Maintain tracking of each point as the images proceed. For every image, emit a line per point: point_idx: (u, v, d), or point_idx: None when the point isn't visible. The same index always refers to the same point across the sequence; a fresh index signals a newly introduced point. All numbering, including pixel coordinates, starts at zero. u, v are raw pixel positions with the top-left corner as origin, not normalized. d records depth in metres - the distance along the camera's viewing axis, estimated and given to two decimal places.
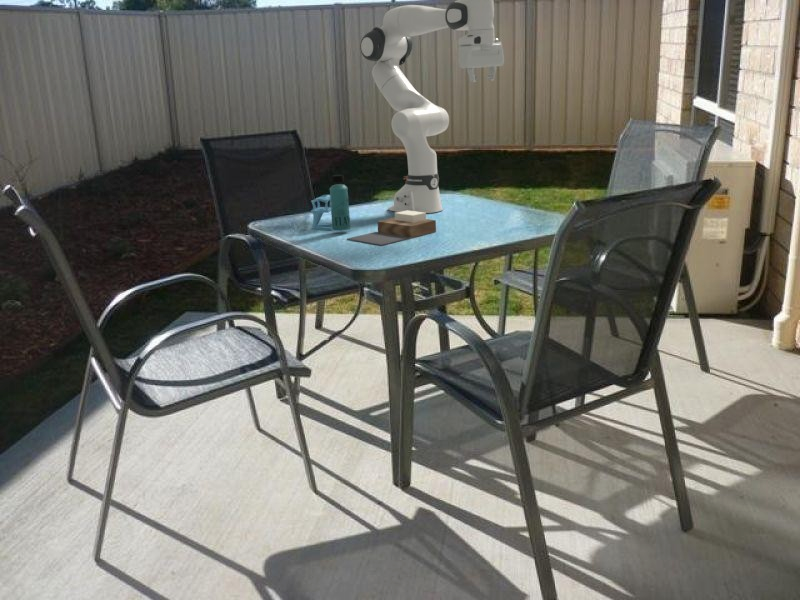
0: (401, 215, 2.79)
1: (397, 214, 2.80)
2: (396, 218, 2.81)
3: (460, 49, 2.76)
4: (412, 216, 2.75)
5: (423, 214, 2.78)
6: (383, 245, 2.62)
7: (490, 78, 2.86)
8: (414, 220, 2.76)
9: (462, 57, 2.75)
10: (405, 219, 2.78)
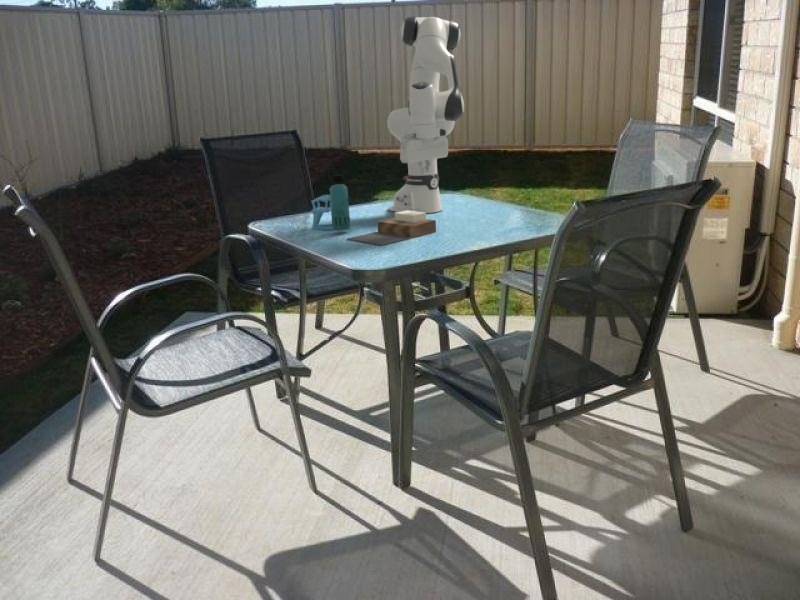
0: (401, 215, 2.79)
1: (397, 214, 2.80)
2: (396, 218, 2.81)
3: None
4: (412, 216, 2.75)
5: (423, 214, 2.78)
6: (383, 245, 2.62)
7: None
8: (414, 220, 2.76)
9: None
10: (405, 219, 2.78)
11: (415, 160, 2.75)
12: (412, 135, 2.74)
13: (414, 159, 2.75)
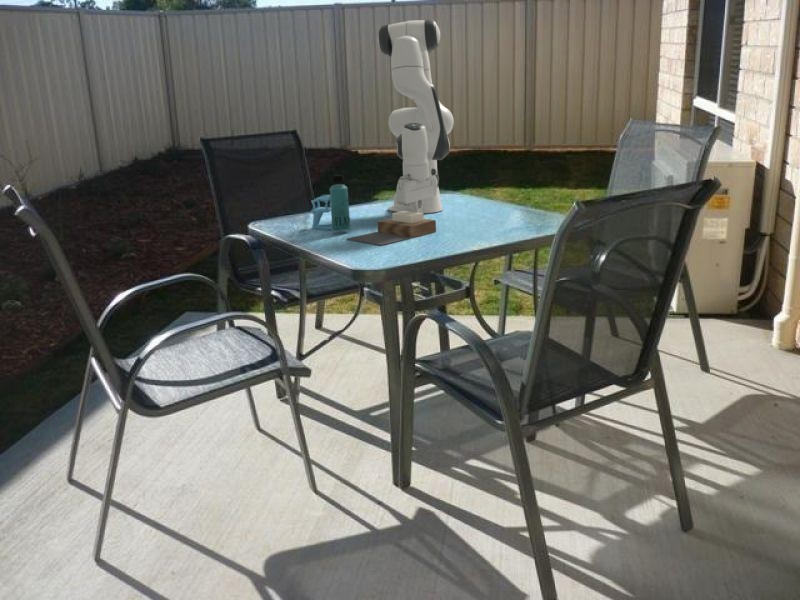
0: (399, 216, 2.78)
1: (394, 215, 2.80)
2: (393, 219, 2.80)
3: None
4: (410, 217, 2.75)
5: (421, 215, 2.78)
6: (383, 245, 2.62)
7: None
8: (412, 221, 2.75)
9: None
10: (402, 220, 2.77)
11: (411, 201, 2.75)
12: (407, 176, 2.74)
13: (410, 200, 2.75)
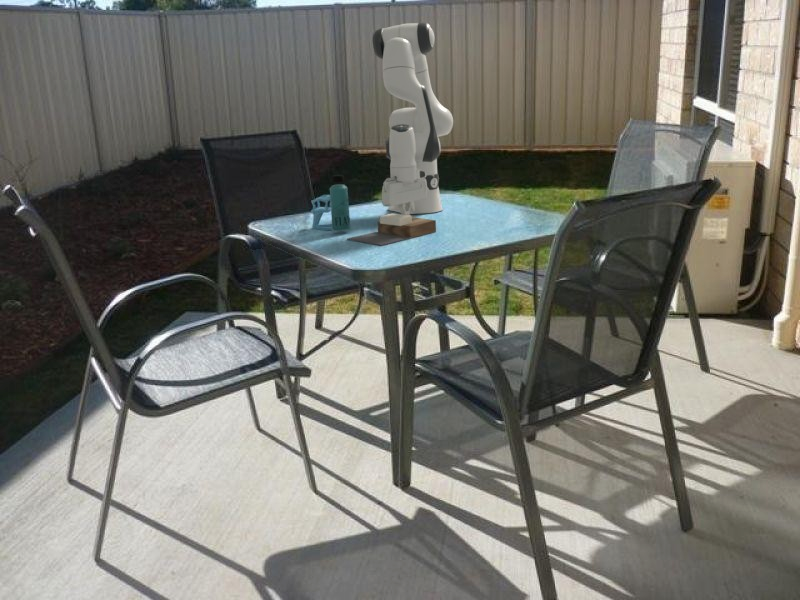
0: (387, 218, 2.74)
1: (382, 217, 2.76)
2: (381, 222, 2.76)
3: None
4: (398, 219, 2.71)
5: (409, 217, 2.74)
6: (383, 245, 2.62)
7: None
8: (400, 223, 2.71)
9: None
10: (391, 223, 2.74)
11: (397, 203, 2.72)
12: (393, 178, 2.70)
13: (396, 202, 2.71)
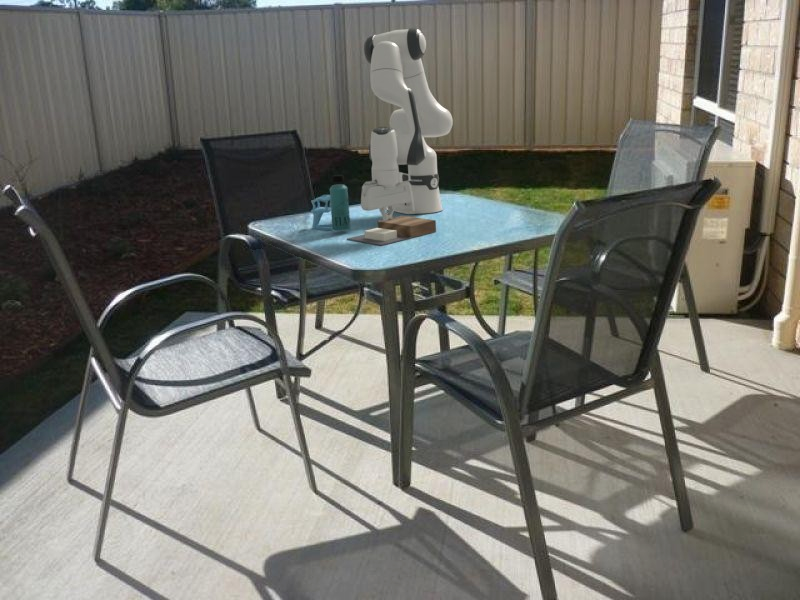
0: None
1: None
2: None
3: None
4: None
5: (386, 239, 2.67)
6: (383, 245, 2.62)
7: None
8: (395, 232, 2.70)
9: None
10: None
11: (376, 207, 2.67)
12: (373, 181, 2.65)
13: (375, 206, 2.66)
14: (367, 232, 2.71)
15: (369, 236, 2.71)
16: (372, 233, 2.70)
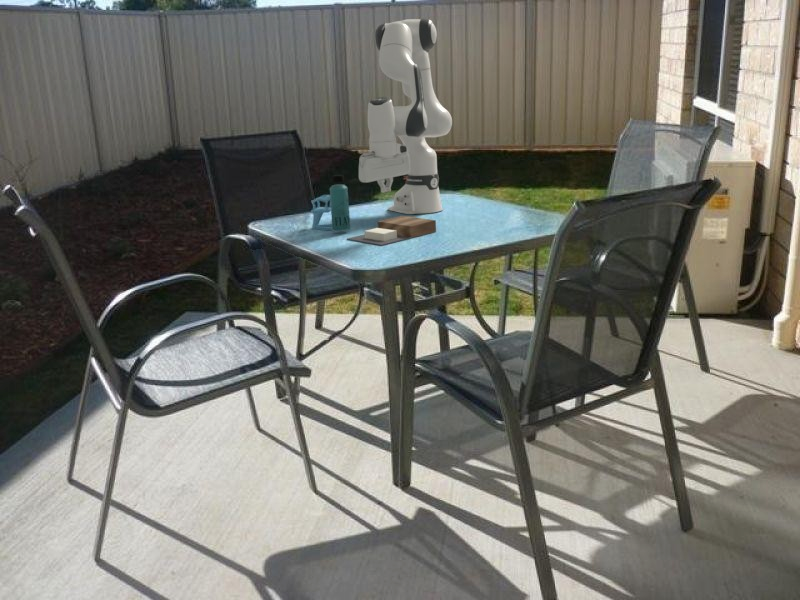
0: None
1: None
2: None
3: None
4: None
5: (386, 239, 2.67)
6: (383, 245, 2.62)
7: None
8: (395, 232, 2.70)
9: None
10: None
11: (374, 179, 2.64)
12: (371, 153, 2.63)
13: (373, 178, 2.63)
14: (367, 232, 2.71)
15: (369, 236, 2.71)
16: (372, 233, 2.70)
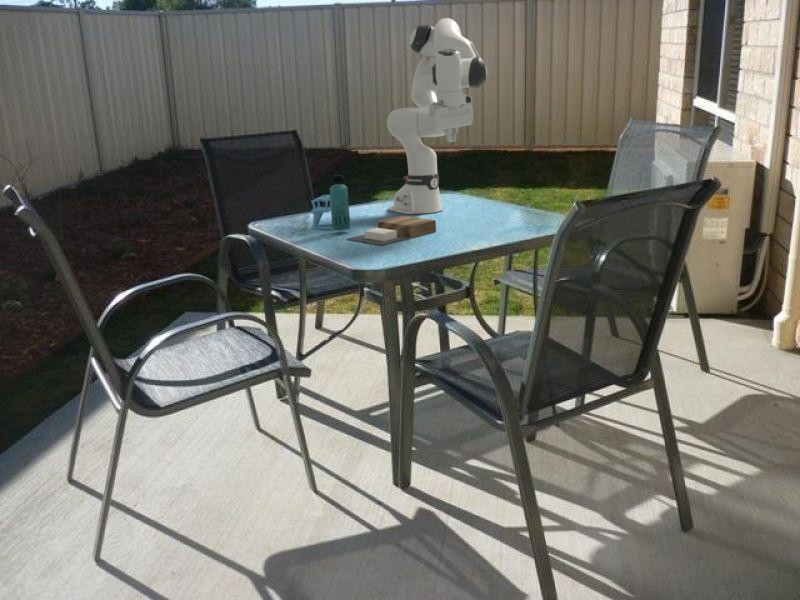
0: None
1: None
2: None
3: None
4: None
5: (386, 239, 2.67)
6: (383, 245, 2.62)
7: None
8: (395, 232, 2.70)
9: None
10: None
11: (443, 128, 2.74)
12: (440, 102, 2.73)
13: (442, 127, 2.74)
14: (367, 232, 2.71)
15: (369, 236, 2.71)
16: (372, 233, 2.70)
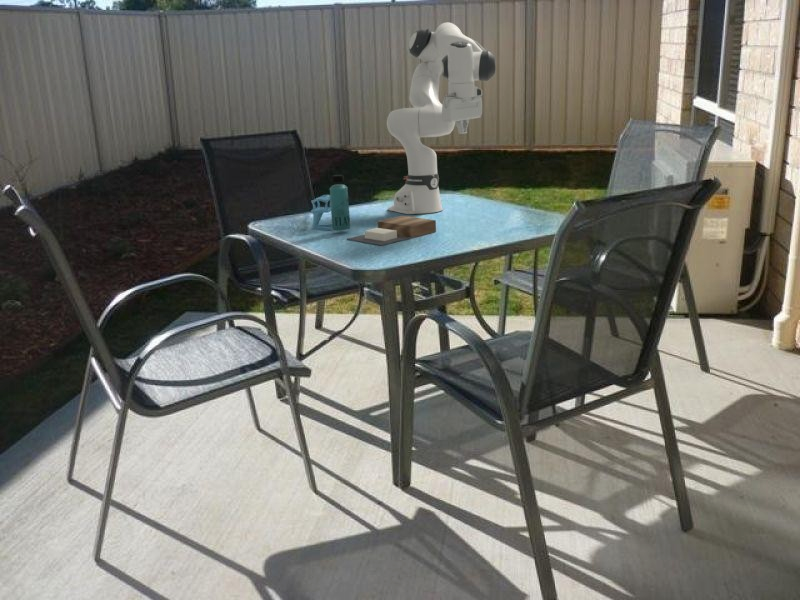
0: None
1: None
2: None
3: None
4: None
5: (386, 239, 2.67)
6: (383, 245, 2.62)
7: None
8: (395, 232, 2.70)
9: None
10: None
11: (456, 119, 2.76)
12: (453, 94, 2.74)
13: (456, 118, 2.75)
14: (367, 232, 2.71)
15: (369, 236, 2.71)
16: (372, 233, 2.70)
